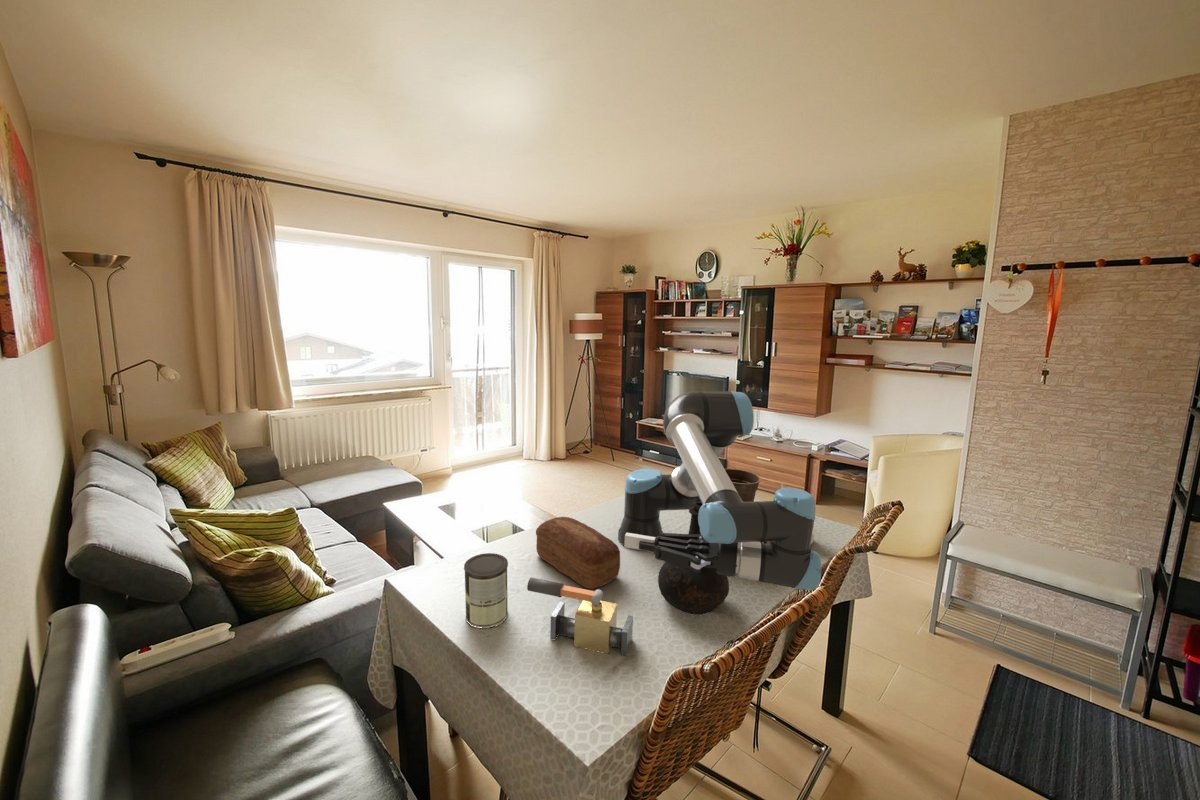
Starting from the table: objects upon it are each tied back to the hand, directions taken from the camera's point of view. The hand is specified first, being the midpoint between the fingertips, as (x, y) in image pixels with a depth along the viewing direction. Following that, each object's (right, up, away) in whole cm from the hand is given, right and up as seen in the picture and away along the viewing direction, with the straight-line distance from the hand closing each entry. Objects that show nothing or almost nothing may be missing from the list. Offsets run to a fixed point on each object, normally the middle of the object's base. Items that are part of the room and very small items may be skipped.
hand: (625, 539), depth 105 cm
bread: (-13, -19, +38) cm, 44 cm away
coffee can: (-34, -23, +14) cm, 43 cm away
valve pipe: (-7, -25, +6) cm, 27 cm away
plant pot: (+45, -14, +77) cm, 90 cm away
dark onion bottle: (+18, -23, +21) cm, 37 cm away
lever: (-6, -14, +4) cm, 16 cm away
